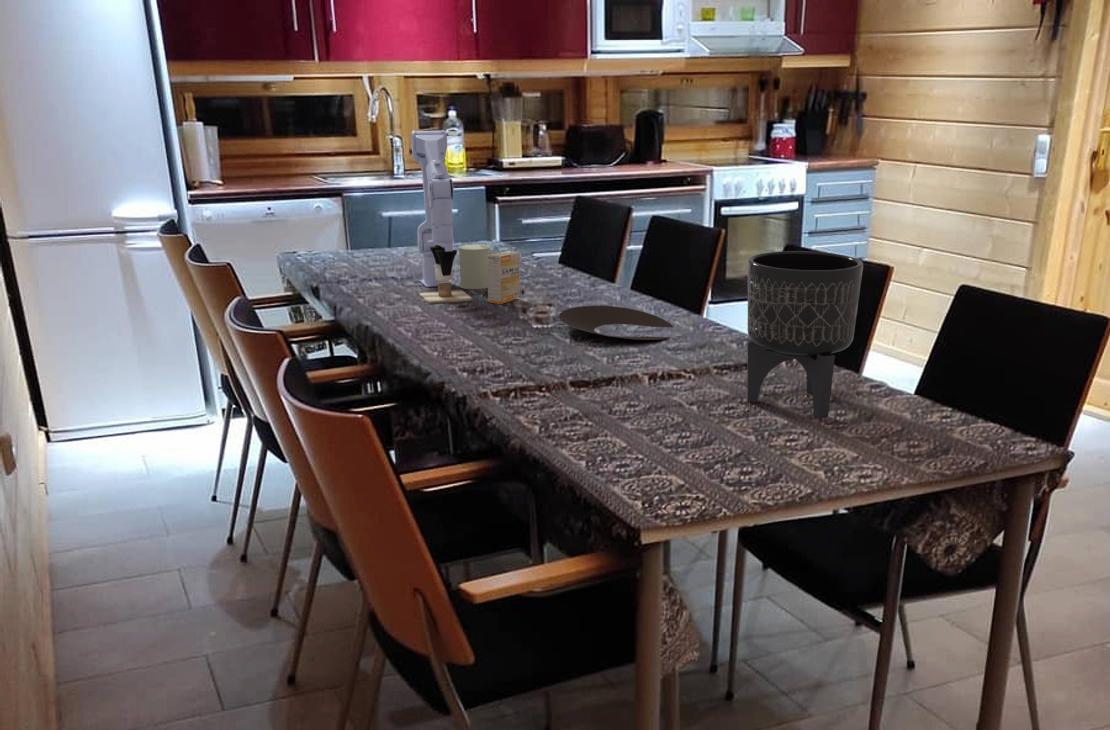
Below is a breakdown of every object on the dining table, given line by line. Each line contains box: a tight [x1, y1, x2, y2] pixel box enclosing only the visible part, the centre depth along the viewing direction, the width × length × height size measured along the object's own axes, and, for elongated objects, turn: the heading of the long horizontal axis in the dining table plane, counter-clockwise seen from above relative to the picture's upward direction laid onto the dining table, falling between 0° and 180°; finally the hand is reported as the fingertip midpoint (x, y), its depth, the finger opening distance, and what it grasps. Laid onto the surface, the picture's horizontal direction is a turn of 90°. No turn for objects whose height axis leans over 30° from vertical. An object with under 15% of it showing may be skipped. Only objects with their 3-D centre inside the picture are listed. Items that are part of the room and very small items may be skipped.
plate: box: [558, 305, 675, 341], centre depth 224 cm, size 28×28×4 cm
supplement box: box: [487, 250, 521, 305], centre depth 254 cm, size 8×5×13 cm, turn 143°
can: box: [458, 243, 491, 290], centre depth 273 cm, size 9×9×12 cm
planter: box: [746, 250, 864, 419], centre depth 169 cm, size 20×20×26 cm
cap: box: [434, 264, 453, 281], centre depth 258 cm, size 5×5×4 cm
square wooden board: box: [418, 281, 473, 305], centre depth 260 cm, size 12×12×4 cm
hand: (444, 273), depth 258 cm, fingers closed on cap, 5 cm apart
